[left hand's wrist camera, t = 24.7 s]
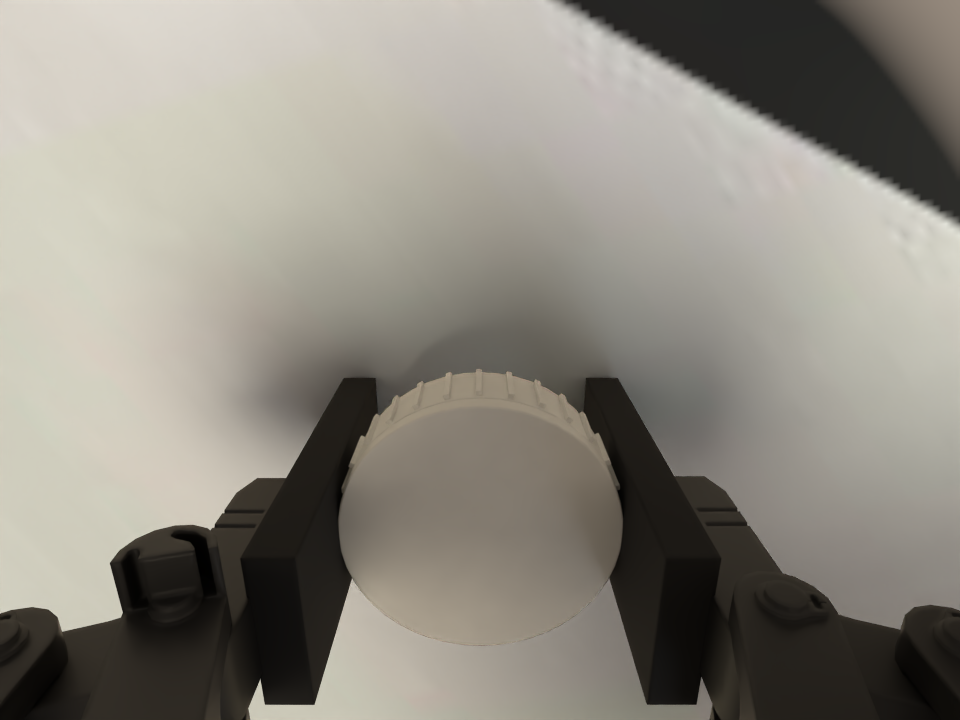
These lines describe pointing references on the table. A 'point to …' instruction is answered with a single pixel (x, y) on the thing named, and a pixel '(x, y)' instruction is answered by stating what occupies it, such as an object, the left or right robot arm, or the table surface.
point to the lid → (480, 510)
